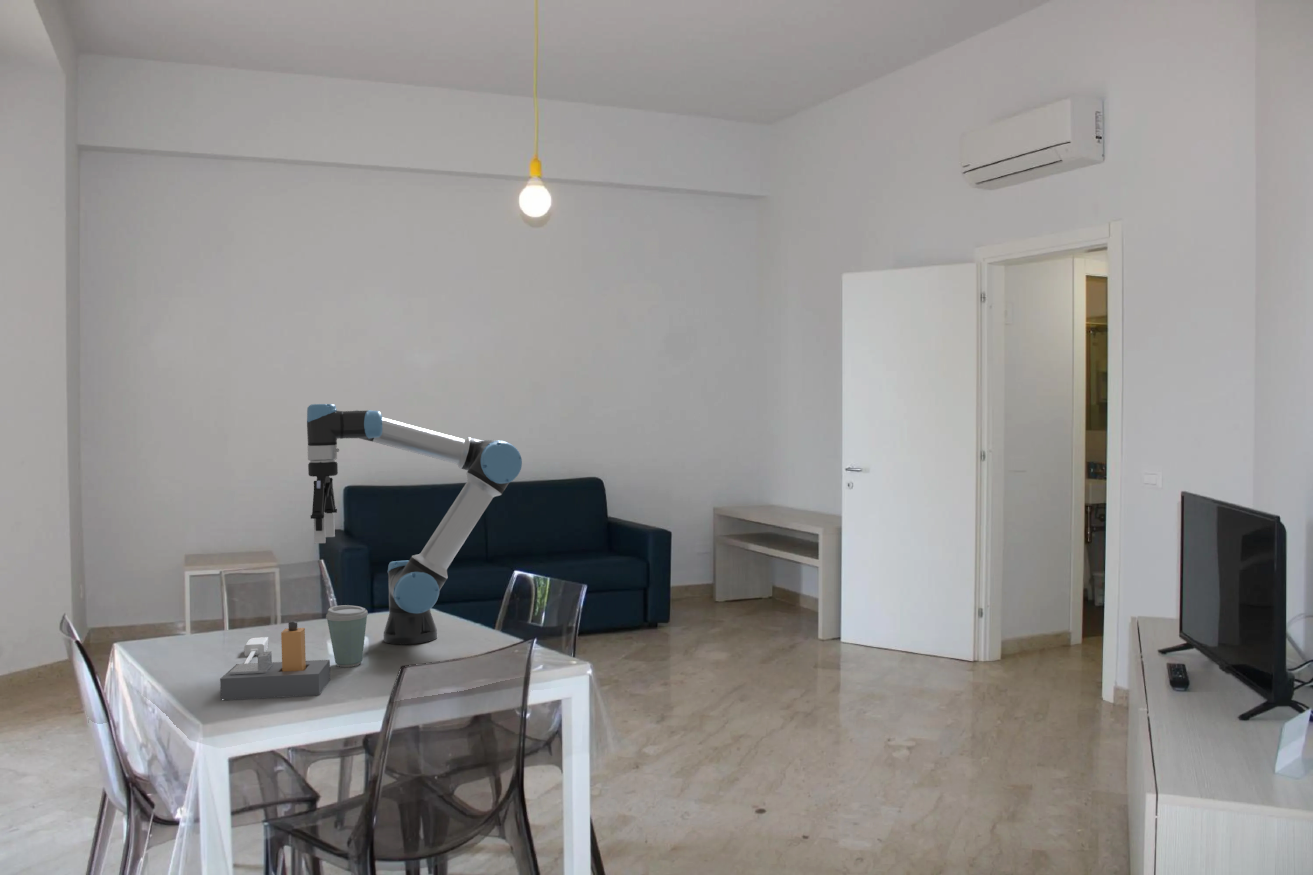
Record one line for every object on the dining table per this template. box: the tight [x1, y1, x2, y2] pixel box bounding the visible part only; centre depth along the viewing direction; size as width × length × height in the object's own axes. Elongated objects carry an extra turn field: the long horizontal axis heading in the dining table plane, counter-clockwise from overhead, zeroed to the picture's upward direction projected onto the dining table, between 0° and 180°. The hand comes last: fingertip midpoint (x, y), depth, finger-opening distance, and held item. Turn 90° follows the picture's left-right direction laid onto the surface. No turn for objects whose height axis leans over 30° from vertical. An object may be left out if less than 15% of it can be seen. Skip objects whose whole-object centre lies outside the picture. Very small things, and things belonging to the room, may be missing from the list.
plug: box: [280, 620, 307, 672], centre depth 247 cm, size 4×4×14 cm
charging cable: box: [243, 636, 269, 664], centre depth 277 cm, size 5×32×3 cm, turn 13°
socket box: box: [219, 659, 331, 701], centre depth 247 cm, size 22×14×5 cm, turn 98°
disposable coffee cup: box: [325, 604, 368, 668], centre depth 270 cm, size 11×11×15 cm
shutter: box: [230, 650, 273, 675], centre depth 246 cm, size 8×8×4 cm
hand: (324, 540), depth 278 cm, fingers open, 13 cm apart
